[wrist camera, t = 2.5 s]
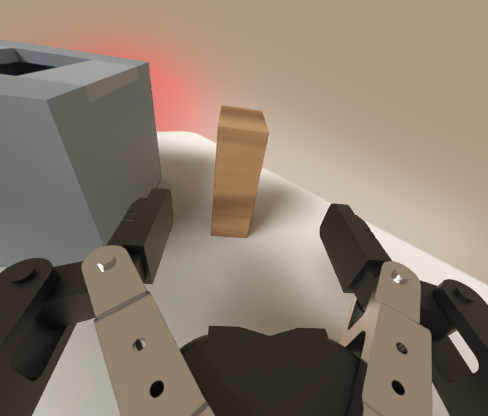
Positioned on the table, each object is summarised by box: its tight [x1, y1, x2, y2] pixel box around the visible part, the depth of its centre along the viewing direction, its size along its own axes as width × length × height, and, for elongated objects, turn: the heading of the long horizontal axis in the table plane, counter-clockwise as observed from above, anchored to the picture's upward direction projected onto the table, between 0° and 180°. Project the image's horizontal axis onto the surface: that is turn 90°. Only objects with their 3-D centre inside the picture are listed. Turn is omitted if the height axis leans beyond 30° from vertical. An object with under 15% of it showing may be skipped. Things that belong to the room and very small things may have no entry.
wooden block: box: [211, 106, 269, 238], centre depth 23 cm, size 6×4×12 cm, turn 2°
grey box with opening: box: [0, 39, 161, 267], centre depth 20 cm, size 16×14×14 cm
